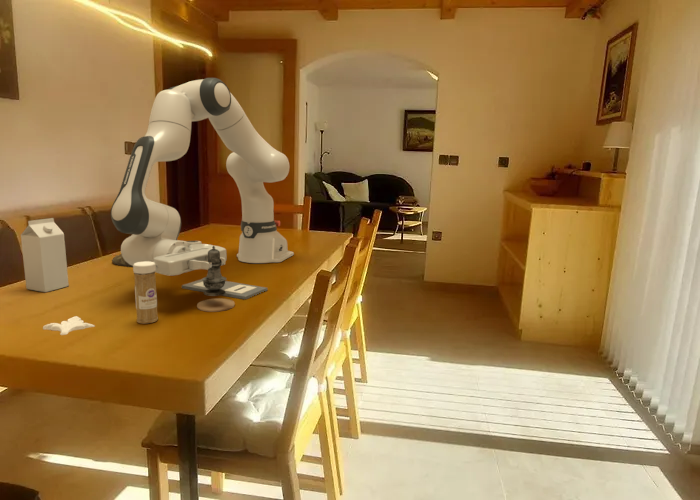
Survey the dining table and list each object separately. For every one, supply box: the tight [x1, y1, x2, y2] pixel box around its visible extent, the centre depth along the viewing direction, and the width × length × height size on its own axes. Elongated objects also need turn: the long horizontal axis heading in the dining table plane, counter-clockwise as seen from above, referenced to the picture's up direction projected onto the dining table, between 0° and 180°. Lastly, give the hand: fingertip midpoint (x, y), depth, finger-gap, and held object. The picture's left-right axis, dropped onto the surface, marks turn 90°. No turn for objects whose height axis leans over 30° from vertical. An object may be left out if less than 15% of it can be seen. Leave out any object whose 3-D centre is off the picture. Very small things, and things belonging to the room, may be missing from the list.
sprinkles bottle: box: [132, 261, 159, 325], centre depth 107 cm, size 5×5×13 cm
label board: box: [181, 278, 268, 300], centre depth 135 cm, size 10×22×1 cm, turn 65°
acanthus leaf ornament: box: [42, 315, 96, 336], centre depth 103 cm, size 8×7×2 cm
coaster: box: [196, 297, 236, 313], centre depth 120 cm, size 9×9×1 cm
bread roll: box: [111, 253, 133, 268], centre depth 165 cm, size 13×12×5 cm
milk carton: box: [20, 217, 70, 293], centre depth 130 cm, size 7×7×19 cm
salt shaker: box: [201, 245, 227, 297], centre depth 118 cm, size 6×6×12 cm
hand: (216, 263), depth 118 cm, fingers closed on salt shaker, 4 cm apart
